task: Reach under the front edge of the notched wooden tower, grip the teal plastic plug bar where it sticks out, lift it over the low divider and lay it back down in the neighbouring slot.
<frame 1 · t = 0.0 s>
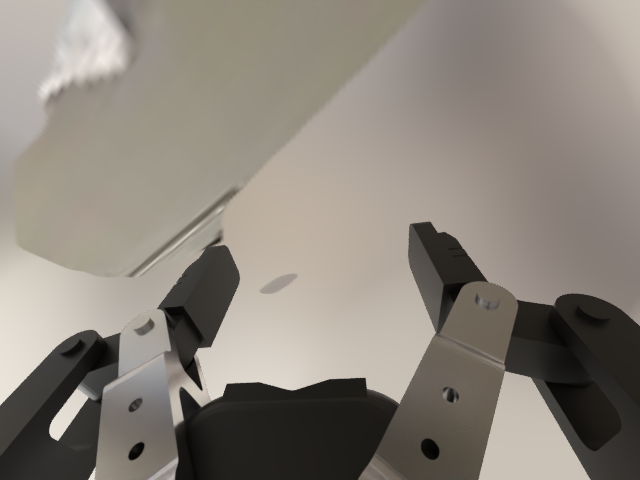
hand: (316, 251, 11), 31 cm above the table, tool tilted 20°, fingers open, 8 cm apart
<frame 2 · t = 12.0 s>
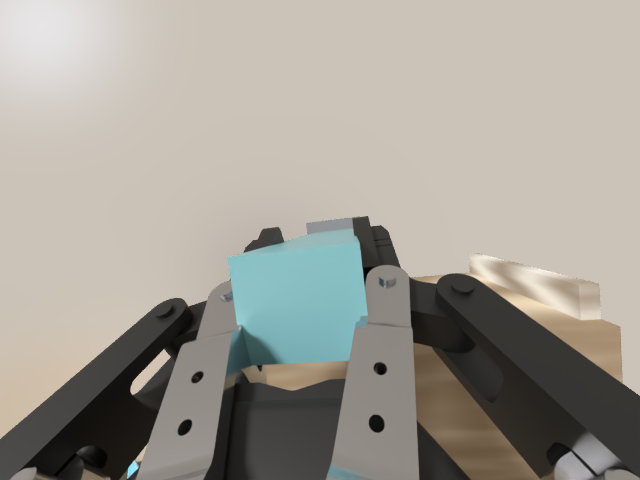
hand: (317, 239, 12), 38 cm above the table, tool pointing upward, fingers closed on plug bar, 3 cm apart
plug bar: (332, 277, 17), point 35 cm above the table, touching gripper
when the fingers open (35 cm above the table, at t = 13.3 s): plug bar stays where it is, resting on notched wooden tower.
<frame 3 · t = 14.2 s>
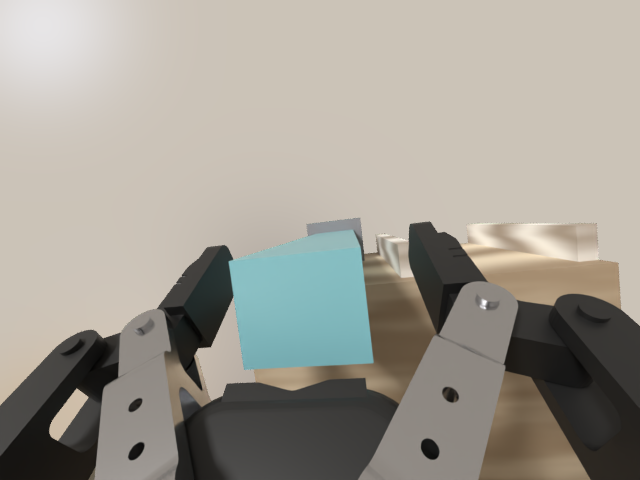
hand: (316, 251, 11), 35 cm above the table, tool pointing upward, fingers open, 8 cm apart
plug bar: (333, 278, 17), point 32 cm above the table, touching notched wooden tower
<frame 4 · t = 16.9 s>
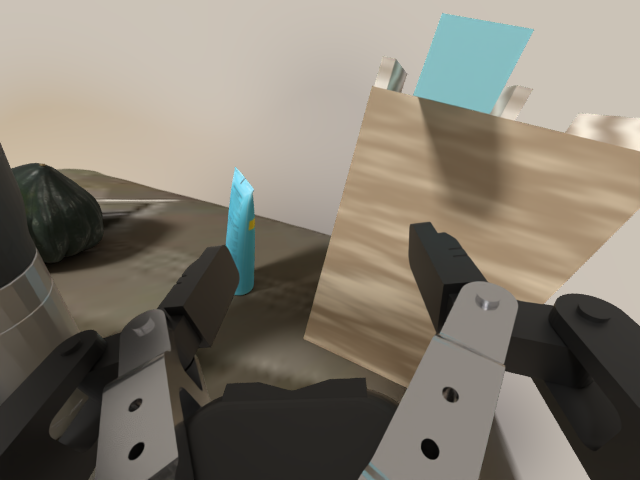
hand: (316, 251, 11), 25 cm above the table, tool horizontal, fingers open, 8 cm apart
squash: (53, 250, 41), on the table
notched wooden tower: (377, 331, 40), on the table
plug bar: (440, 102, 20), point 32 cm above the table, touching notched wooden tower
tube: (239, 285, 43), on the table
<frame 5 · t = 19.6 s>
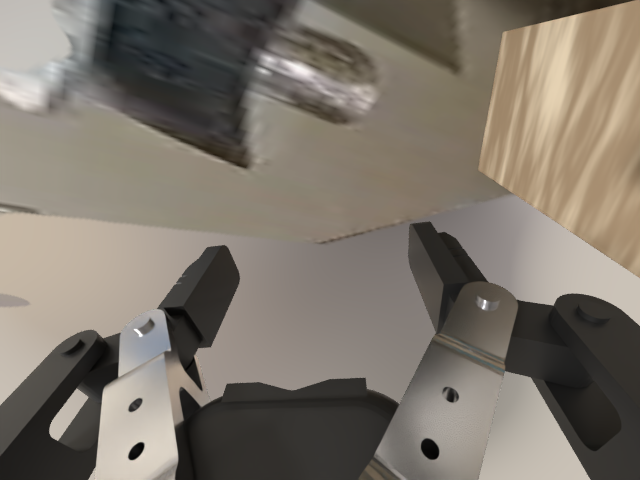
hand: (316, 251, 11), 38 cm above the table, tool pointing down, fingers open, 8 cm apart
notched wooden tower: (535, 102, 40), on the table
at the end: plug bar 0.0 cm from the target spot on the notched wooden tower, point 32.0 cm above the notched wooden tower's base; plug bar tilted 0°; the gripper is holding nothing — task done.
